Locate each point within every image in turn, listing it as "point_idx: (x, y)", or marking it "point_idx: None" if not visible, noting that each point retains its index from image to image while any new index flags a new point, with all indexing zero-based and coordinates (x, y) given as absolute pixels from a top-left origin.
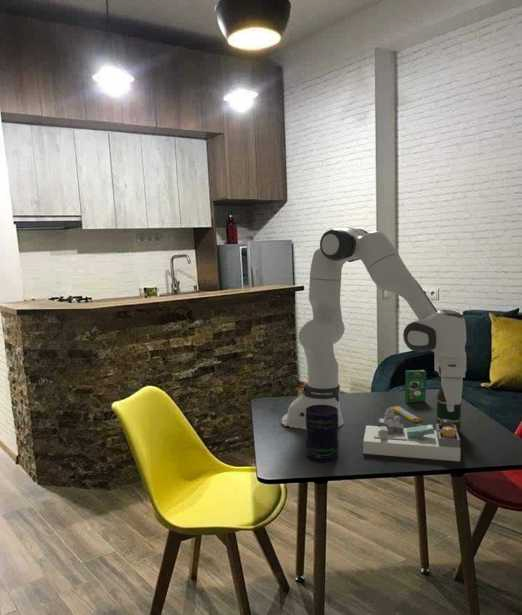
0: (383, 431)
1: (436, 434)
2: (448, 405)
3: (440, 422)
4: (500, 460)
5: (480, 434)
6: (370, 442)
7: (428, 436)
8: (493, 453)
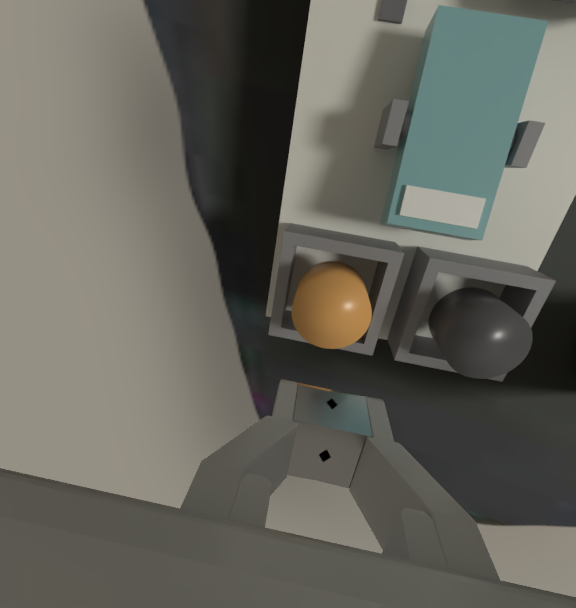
0: None
1: (464, 253)
2: (260, 427)
3: (498, 302)
4: None
5: (546, 448)
6: None
7: None
8: None
